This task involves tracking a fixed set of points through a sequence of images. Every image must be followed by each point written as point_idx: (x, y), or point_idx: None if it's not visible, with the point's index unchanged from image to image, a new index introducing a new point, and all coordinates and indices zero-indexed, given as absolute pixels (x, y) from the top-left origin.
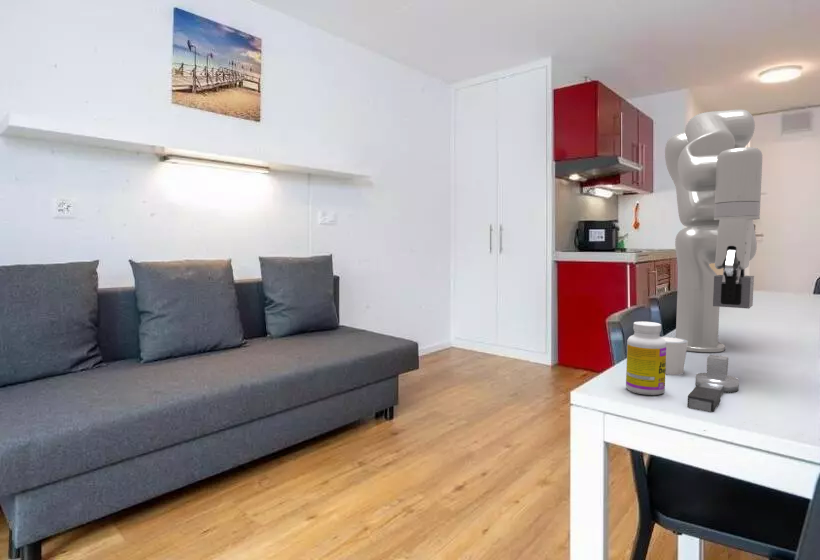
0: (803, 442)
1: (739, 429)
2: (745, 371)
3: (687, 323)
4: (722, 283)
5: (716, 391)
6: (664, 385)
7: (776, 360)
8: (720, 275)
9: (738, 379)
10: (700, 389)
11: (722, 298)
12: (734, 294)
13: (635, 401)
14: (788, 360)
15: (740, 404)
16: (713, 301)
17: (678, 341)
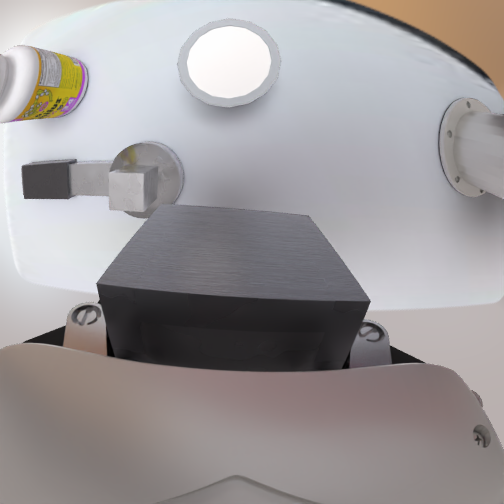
0: (21, 274)
1: (9, 225)
2: (317, 220)
3: (491, 131)
4: (83, 303)
5: (58, 194)
6: (53, 117)
7: (420, 267)
8: (267, 321)
9: None
10: (54, 172)
11: None
12: None
13: None
14: (423, 282)
15: (80, 219)
16: (155, 212)
17: (214, 85)
